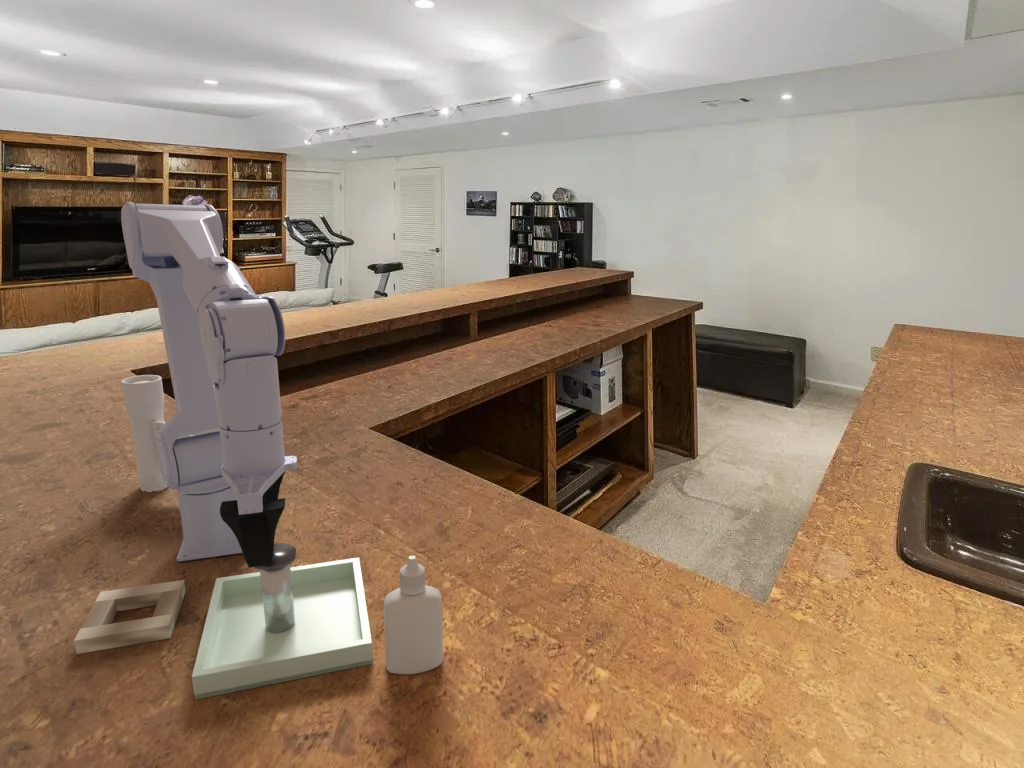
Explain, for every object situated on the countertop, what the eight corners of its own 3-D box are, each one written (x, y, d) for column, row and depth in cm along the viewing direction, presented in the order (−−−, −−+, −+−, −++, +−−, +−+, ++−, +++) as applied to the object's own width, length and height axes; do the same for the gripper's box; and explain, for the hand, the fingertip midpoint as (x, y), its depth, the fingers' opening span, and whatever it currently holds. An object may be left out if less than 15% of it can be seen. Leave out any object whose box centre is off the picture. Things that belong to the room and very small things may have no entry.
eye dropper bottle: (398, 642, 63) (395, 541, 59) (448, 653, 61) (448, 550, 58) (378, 671, 58) (374, 564, 55) (431, 684, 57) (430, 575, 54)
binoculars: (129, 492, 94) (111, 382, 89) (152, 477, 100) (137, 373, 95) (232, 499, 93) (220, 388, 88) (250, 484, 98) (240, 379, 93)
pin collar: (185, 591, 70) (184, 579, 70) (170, 638, 62) (168, 625, 62) (102, 604, 67) (100, 591, 67) (76, 654, 60) (73, 640, 59)
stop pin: (302, 608, 67) (296, 540, 65) (301, 633, 63) (295, 562, 60) (260, 615, 65) (252, 546, 63) (256, 641, 61) (248, 568, 59)
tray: (359, 575, 74) (359, 557, 73) (372, 663, 59) (371, 642, 59) (218, 597, 69) (216, 578, 68) (194, 699, 55) (191, 677, 54)
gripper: (292, 444, 53) (302, 576, 57) (294, 397, 66) (302, 507, 70) (205, 451, 51) (221, 589, 55) (225, 402, 64) (237, 515, 68)
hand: (262, 544), depth 62 cm, fingers open, 7 cm apart
